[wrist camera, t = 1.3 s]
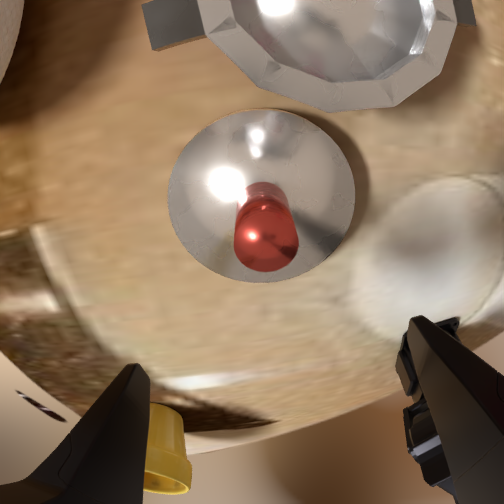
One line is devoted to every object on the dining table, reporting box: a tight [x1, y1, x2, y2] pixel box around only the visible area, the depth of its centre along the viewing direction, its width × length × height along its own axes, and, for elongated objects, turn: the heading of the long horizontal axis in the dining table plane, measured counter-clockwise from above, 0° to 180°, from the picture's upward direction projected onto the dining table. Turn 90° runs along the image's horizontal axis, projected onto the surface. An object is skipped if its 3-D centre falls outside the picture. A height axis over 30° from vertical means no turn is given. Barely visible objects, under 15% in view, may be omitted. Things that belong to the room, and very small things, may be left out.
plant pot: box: [143, 403, 192, 494], centre depth 31 cm, size 10×10×10 cm
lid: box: [168, 108, 355, 283], centre depth 17 cm, size 11×11×6 cm
